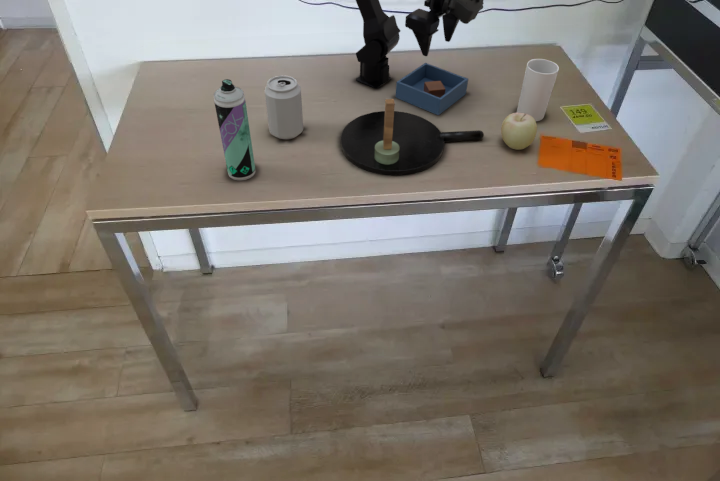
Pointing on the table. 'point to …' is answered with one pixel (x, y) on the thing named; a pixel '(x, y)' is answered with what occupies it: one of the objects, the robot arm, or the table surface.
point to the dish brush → (387, 138)
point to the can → (284, 107)
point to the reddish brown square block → (434, 88)
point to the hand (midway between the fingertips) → (436, 48)
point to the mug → (537, 87)
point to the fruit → (518, 130)
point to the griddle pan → (398, 142)
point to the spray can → (234, 131)
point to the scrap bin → (414, 93)
